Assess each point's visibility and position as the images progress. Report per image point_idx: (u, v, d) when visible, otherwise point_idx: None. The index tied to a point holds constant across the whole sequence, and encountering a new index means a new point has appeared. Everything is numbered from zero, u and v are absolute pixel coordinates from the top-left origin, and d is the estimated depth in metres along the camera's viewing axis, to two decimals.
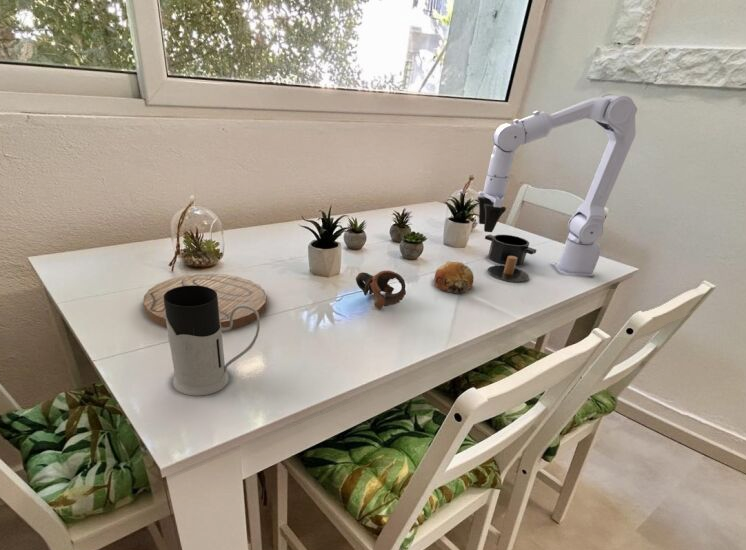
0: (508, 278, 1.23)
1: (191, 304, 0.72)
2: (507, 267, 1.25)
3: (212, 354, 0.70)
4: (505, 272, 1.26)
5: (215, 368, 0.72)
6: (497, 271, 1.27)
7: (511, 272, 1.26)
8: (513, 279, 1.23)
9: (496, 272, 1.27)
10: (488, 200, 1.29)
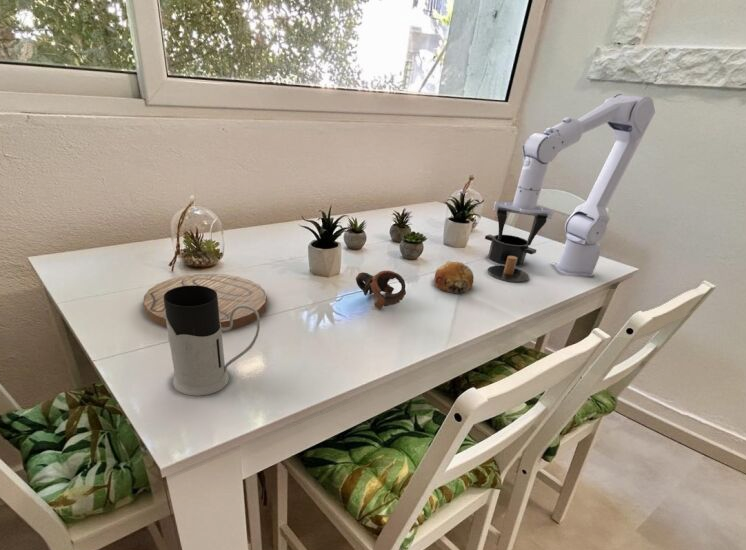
0: (508, 278, 1.23)
1: (191, 304, 0.72)
2: (507, 267, 1.25)
3: (212, 354, 0.70)
4: (505, 272, 1.26)
5: (215, 368, 0.72)
6: (497, 271, 1.27)
7: (511, 272, 1.26)
8: (513, 279, 1.23)
9: (496, 272, 1.27)
10: None
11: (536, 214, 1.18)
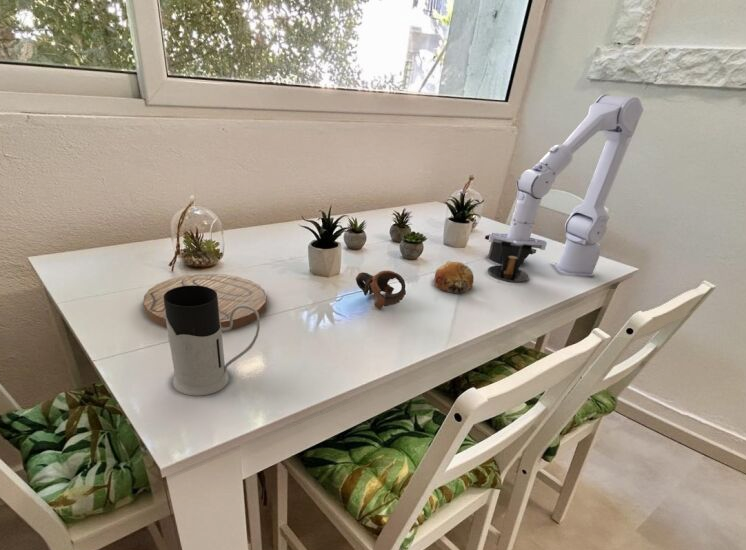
0: (508, 278, 1.23)
1: (191, 304, 0.72)
2: (507, 267, 1.25)
3: (212, 354, 0.70)
4: (505, 272, 1.26)
5: (215, 368, 0.72)
6: (497, 271, 1.27)
7: (511, 272, 1.26)
8: (513, 279, 1.23)
9: (496, 272, 1.26)
10: (510, 246, 1.23)
11: None
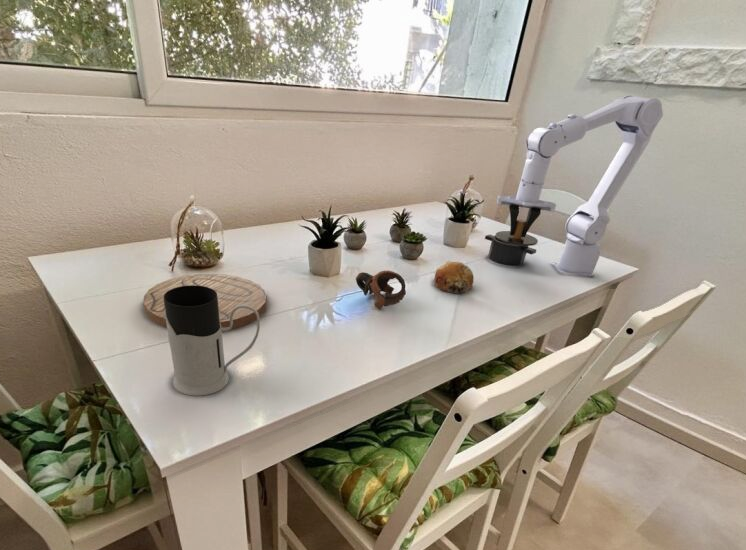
0: (517, 241, 1.22)
1: (191, 304, 0.72)
2: (515, 231, 1.24)
3: (212, 354, 0.70)
4: (513, 236, 1.24)
5: (215, 368, 0.72)
6: (505, 235, 1.25)
7: (520, 236, 1.24)
8: (522, 242, 1.21)
9: (504, 236, 1.25)
10: (518, 209, 1.21)
11: (530, 206, 1.20)
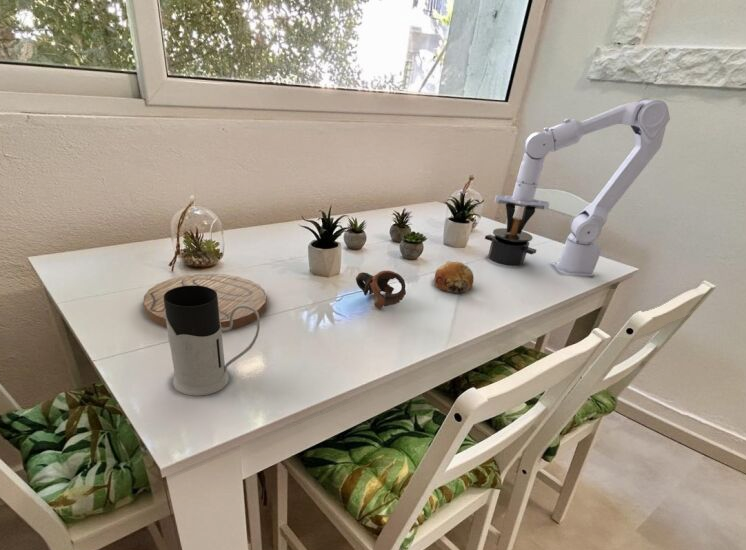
0: (513, 238, 1.30)
1: (191, 304, 0.72)
2: (511, 228, 1.32)
3: (212, 354, 0.70)
4: (510, 233, 1.33)
5: (215, 368, 0.72)
6: (502, 232, 1.34)
7: (516, 233, 1.32)
8: (518, 239, 1.30)
9: (501, 233, 1.33)
10: None
11: (525, 205, 1.29)
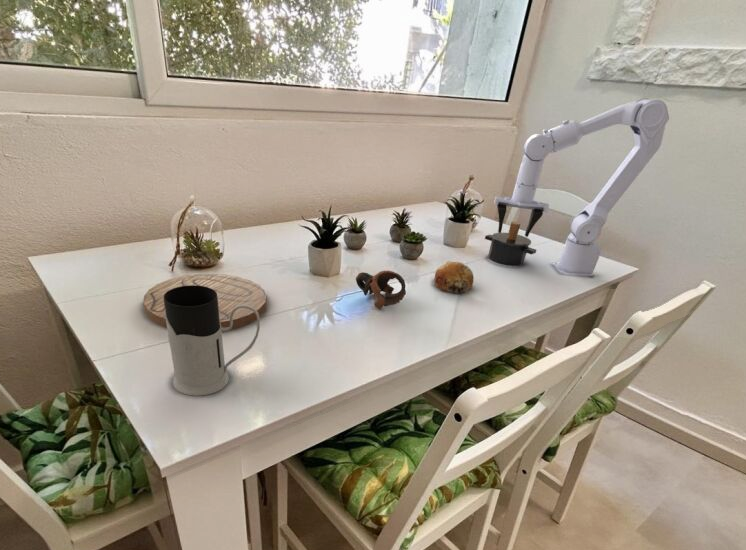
0: (511, 242, 1.31)
1: (191, 304, 0.72)
2: (510, 233, 1.33)
3: (212, 354, 0.70)
4: (509, 237, 1.34)
5: (215, 368, 0.72)
6: (501, 237, 1.35)
7: (514, 237, 1.33)
8: (516, 243, 1.31)
9: (500, 237, 1.34)
10: None
11: (533, 208, 1.29)
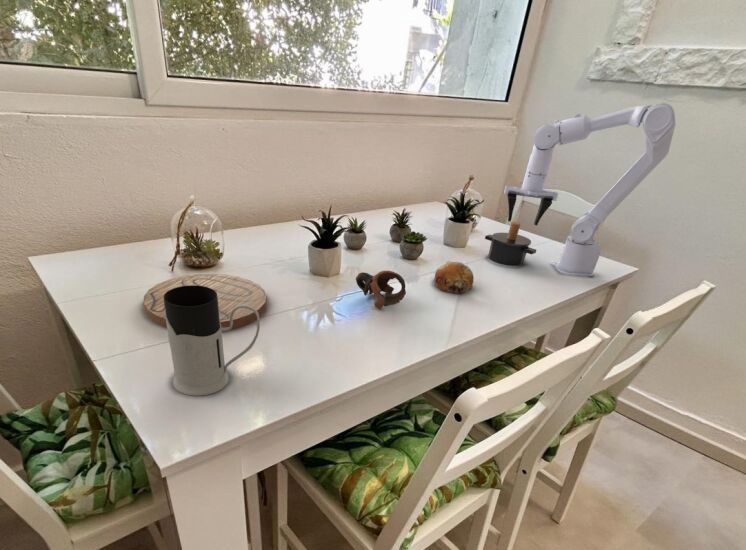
0: (511, 242, 1.31)
1: (191, 304, 0.72)
2: (510, 233, 1.33)
3: (212, 354, 0.70)
4: (509, 237, 1.34)
5: (215, 368, 0.72)
6: (501, 237, 1.35)
7: (514, 237, 1.33)
8: (516, 243, 1.31)
9: (500, 237, 1.34)
10: None
11: (543, 197, 1.31)
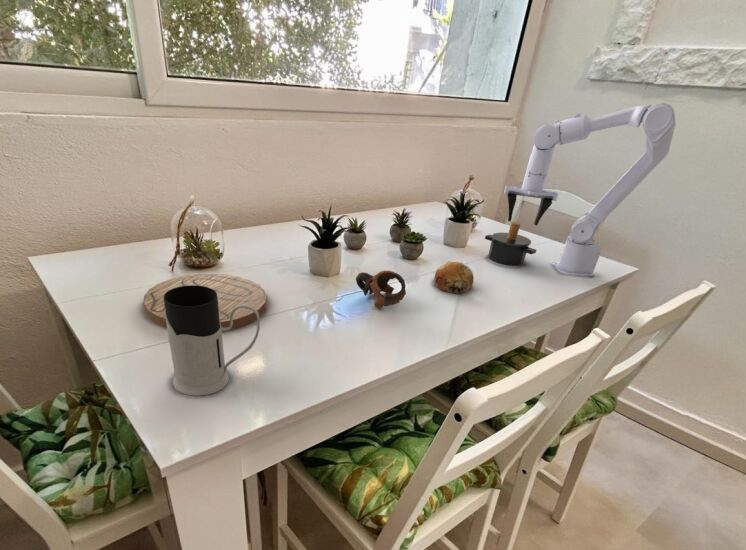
0: (511, 242, 1.31)
1: (191, 304, 0.72)
2: (510, 233, 1.33)
3: (212, 354, 0.70)
4: (509, 237, 1.34)
5: (215, 368, 0.72)
6: (501, 237, 1.35)
7: (514, 237, 1.33)
8: (516, 243, 1.31)
9: (500, 237, 1.34)
10: None
11: (543, 197, 1.31)
